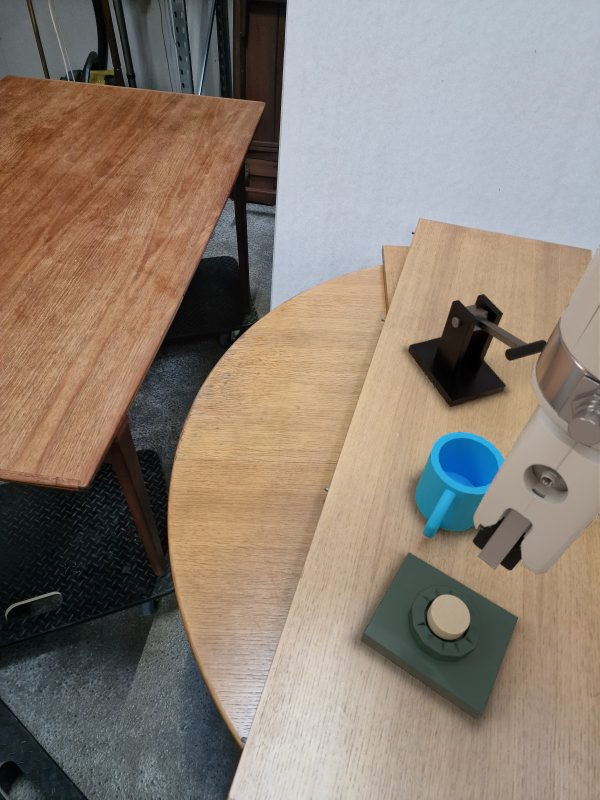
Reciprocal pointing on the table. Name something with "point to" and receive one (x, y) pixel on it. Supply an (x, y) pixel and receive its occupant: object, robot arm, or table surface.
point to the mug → (456, 481)
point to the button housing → (432, 655)
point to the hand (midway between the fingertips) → (496, 549)
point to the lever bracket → (460, 355)
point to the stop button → (448, 617)
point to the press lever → (505, 336)
